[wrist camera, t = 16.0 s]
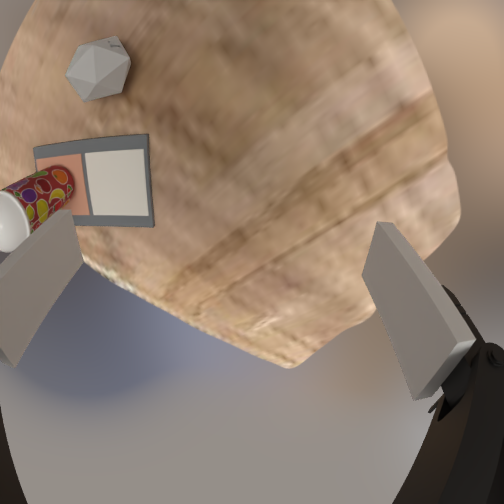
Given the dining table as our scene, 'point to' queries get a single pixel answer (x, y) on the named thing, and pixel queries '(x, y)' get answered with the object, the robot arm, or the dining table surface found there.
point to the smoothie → (32, 204)
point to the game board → (105, 179)
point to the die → (99, 69)
